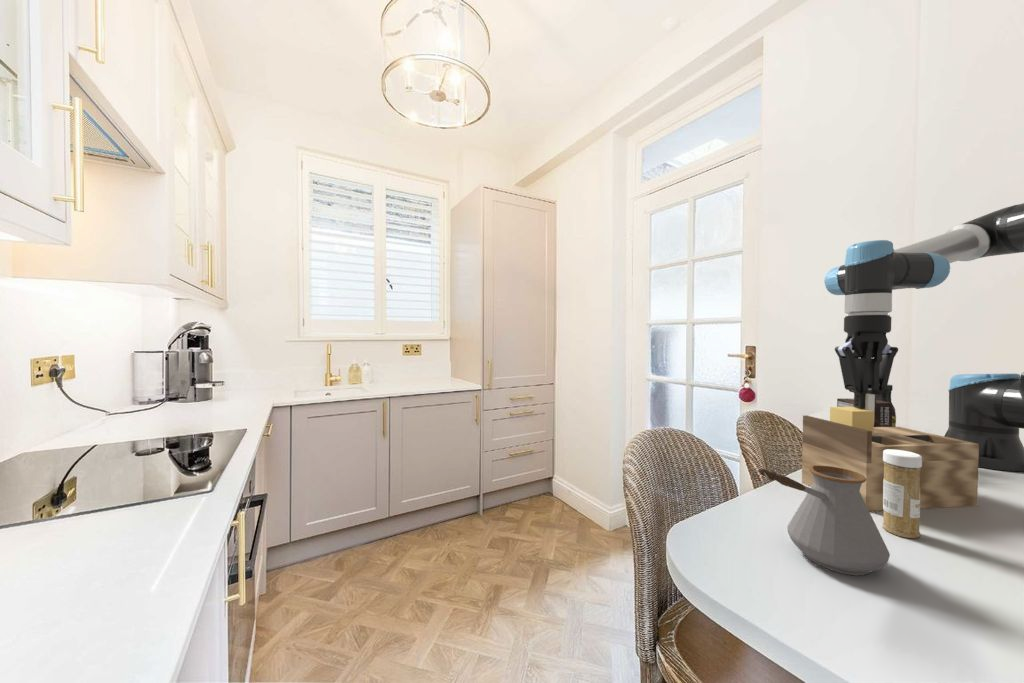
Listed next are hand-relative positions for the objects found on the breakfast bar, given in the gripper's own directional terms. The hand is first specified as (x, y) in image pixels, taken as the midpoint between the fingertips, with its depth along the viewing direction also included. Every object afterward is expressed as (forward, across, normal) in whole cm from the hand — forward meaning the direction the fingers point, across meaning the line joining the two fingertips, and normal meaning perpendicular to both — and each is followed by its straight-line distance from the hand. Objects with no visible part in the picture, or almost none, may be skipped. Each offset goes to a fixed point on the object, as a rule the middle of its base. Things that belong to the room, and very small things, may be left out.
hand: (864, 423), depth 83 cm
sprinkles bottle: (+14, +13, +18) cm, 26 cm away
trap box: (+14, -1, +4) cm, 14 cm away
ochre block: (+2, +3, 0) cm, 4 cm away
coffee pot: (+14, +36, +25) cm, 46 cm away
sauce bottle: (+14, -25, -18) cm, 34 cm away
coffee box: (+14, -17, -15) cm, 26 cm away
